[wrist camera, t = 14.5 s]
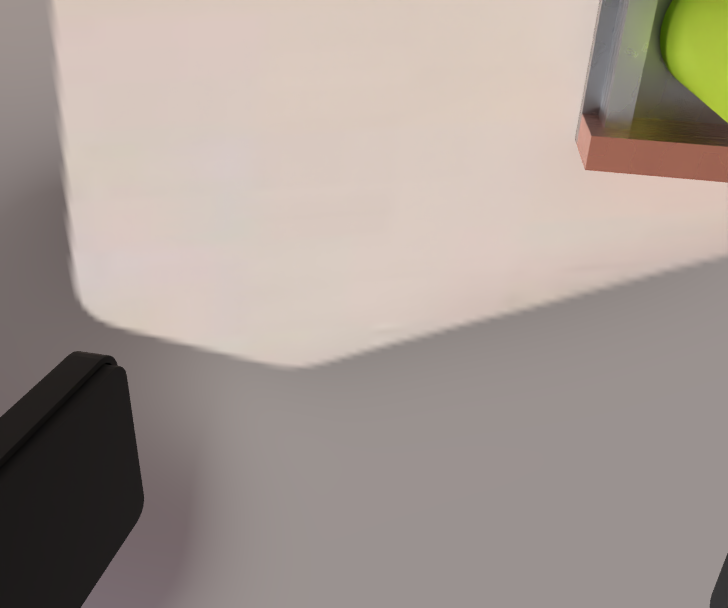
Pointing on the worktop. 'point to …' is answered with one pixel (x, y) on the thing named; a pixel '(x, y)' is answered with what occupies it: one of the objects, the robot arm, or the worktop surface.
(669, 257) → the worktop surface
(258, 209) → the worktop surface
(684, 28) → the soap dispenser
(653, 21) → the grey slotted bracket
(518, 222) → the worktop surface
